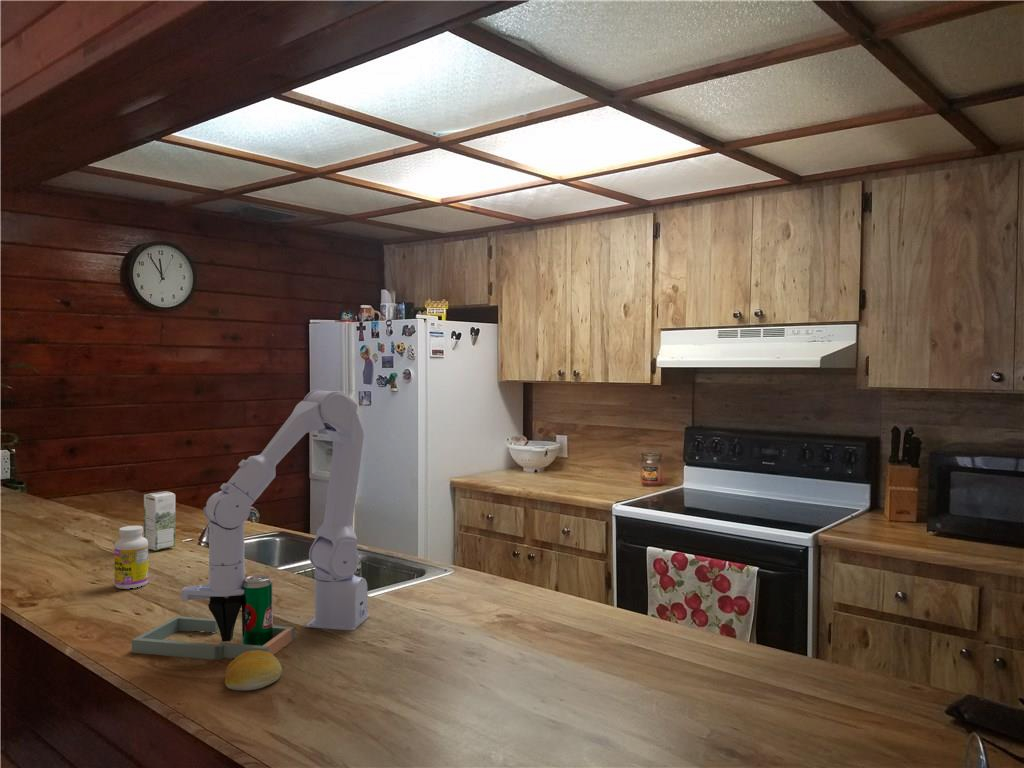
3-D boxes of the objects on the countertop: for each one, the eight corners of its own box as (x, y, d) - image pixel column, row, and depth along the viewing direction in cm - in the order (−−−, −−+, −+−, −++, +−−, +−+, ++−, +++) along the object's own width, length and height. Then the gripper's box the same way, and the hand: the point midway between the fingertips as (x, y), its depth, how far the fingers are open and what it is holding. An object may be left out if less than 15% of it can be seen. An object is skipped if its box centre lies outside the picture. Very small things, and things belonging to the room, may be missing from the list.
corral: (297, 639, 133) (296, 625, 132) (261, 666, 121) (261, 650, 121) (177, 629, 137) (177, 615, 137) (132, 654, 125) (131, 639, 125)
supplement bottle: (107, 587, 162) (106, 529, 162) (133, 579, 168) (132, 523, 168) (130, 591, 160) (129, 532, 159) (155, 583, 166) (154, 525, 166)
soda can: (270, 651, 127) (269, 581, 127) (239, 653, 126) (238, 583, 126) (274, 640, 132) (274, 573, 132) (245, 642, 131) (244, 574, 131)
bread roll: (224, 696, 109) (223, 669, 109) (226, 674, 117) (225, 649, 117) (283, 687, 112) (281, 660, 111) (281, 666, 120) (280, 641, 120)
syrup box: (164, 543, 202) (163, 490, 201) (176, 546, 198) (175, 492, 198) (143, 547, 197) (143, 493, 197) (155, 551, 194) (154, 495, 193)
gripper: (274, 554, 133) (274, 629, 133) (189, 556, 131) (190, 632, 131) (267, 564, 126) (267, 643, 126) (177, 567, 124) (178, 648, 124)
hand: (227, 639), depth 128 cm, fingers closed
